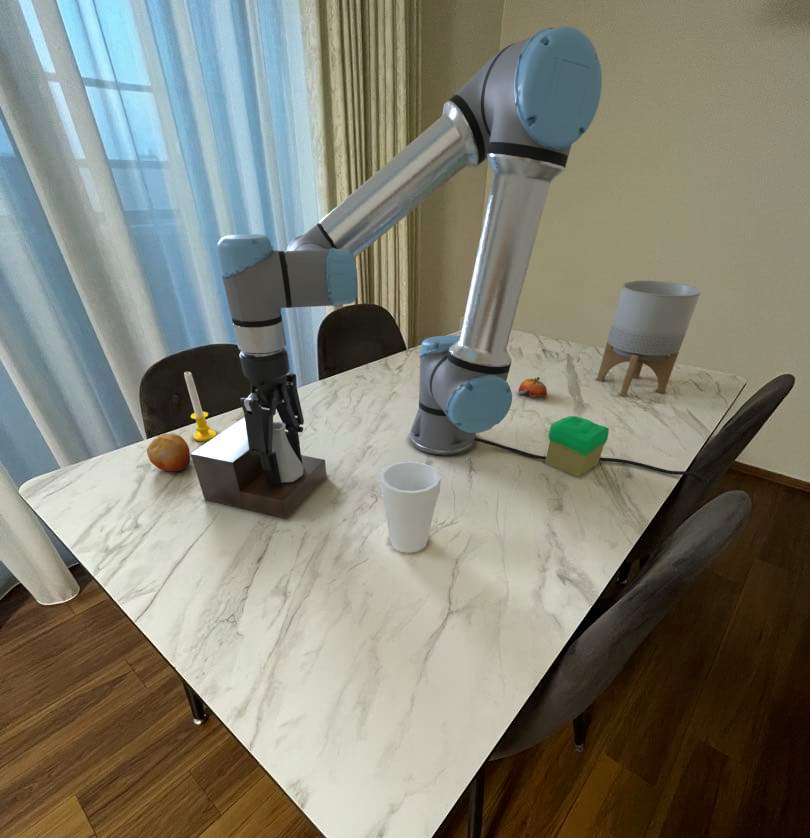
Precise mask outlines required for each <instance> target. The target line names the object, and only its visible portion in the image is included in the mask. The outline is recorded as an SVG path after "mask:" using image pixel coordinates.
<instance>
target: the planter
mask: <svg viewBox="0 0 810 838" xmlns="http://www.w3.org/2000/svg"><path fill="white" fill-rule="evenodd" d="M701 293H702V291H701V289H699V288H697V287H695V286H693V285H688V284H684V283H679V282H672V281H662V280H632V281H631V280H630V281H626V282H624V283H622V285H621V289H620V292H619V296H618V300H617V304H616V307H615V311H614V315H613V318H612V322H611V325H610V329H609V333H608V335H607V336H608V337H607V341H606V344H605V347H604V350H603V351H604V352H603V354H602V355H603V356H602V358H601V363H600V367H599V369H598V370H599V371H598V373H597V374H598V375H597V378H596V381H600V382H604V381H605V378H606V377H607V374H608V373H609V372H610V370H611V369H613V368H614V367H616V366H617V365H619V364H622V363H626V362H629V363H628V367H627V370H626V373H625V376H624V379H623V383H622V386H621V389H620V393H619V397H624V398H626V396H627V395H628V392H629V388H630V386H631V383H632V380H633V379H637V380H638V379H639V378H640V375H641V372H642V369H643V366H644V365H645V366H647V367H649V368H650V369H651V370H652V372H653V373H654V374H655V376H656V381H657V389H656V393H657V394H664V393H665V391H666V389H667V386H668V383H669V380H670V378H671V375H672V372H673V369H674V366H675V364H676V362H677V358H678V356H679V353H680V350H681V347H682V344H683V342H684V339H685V337H686V334H687V331H688V328H689V325H690V323H691V320H692V317H693V315H694V312H695V309H696V307H697V305H698V301H699V298H700V296H701Z"/></svg>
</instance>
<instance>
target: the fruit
mask: <svg viewBox="0 0 810 838" xmlns="http://www.w3.org/2000/svg"><path fill="white" fill-rule="evenodd" d="M190 452H191V451H190V447H189V445H188V443H187V442H186V440H185V439H184V438H183V437H182V436H180V435H178V434H175V433H163V434H160V435H157V437H156V438H154V439H153V440H152V441H151V442H150V443H149V445H148V446H147V448H146V453H147V454H146V455H147V457H148V460H149V462H150V463H151V464H152V465H154V466H155V467H156V468H157V469H159V470H162V471H165V472H181V471H183V470H185V469H186V468H187V467H189V466H190V464H191V462H192V461H191V453H190Z"/></svg>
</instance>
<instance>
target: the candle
mask: <svg viewBox="0 0 810 838" xmlns="http://www.w3.org/2000/svg"><path fill="white" fill-rule="evenodd" d="M183 375H184V380H185V384H186V388H187V391H188V394H189V397H190V401H191V404H192V408H193V412H192V413H191V415H190V418H191V419H192V420H195V422H196V426H195V431H196V432H195V433H193V440H195V441H197V442H209V441H210V440H212V439H213V438H215V437H216V436H217V435H218V433H217V431H216V430H213V429H211V425H210V424H208V423H207V420H206V418H207V417H208V416H209V412H207V411H203V409H202V405H201V401H200V398H199V394H198V390H197V387H196V384H195V380H194V377H193V374H192V372H191V371H185V372H184V373H183Z"/></svg>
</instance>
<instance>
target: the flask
mask: <svg viewBox="0 0 810 838" xmlns="http://www.w3.org/2000/svg"><path fill="white" fill-rule="evenodd" d="M285 427H286V424H285V423H283V422H282V421H275V422H274V421H273V439H272V452H276V457H277V463H278V468H279V473H280V478H281V483H282V482H294V481H295V480H296V479H298V478H299V477H301V476H302V475H303V470H304V467H303V465H302V463H301V462H300V460H299V459H298V457H297V456H296V454H295V452H294V451H293V449H292V447H291V445H290V444H289V442H288V439H287V436H286V433H285V431H286V429H285Z"/></svg>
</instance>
